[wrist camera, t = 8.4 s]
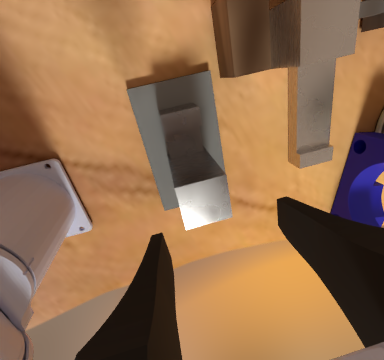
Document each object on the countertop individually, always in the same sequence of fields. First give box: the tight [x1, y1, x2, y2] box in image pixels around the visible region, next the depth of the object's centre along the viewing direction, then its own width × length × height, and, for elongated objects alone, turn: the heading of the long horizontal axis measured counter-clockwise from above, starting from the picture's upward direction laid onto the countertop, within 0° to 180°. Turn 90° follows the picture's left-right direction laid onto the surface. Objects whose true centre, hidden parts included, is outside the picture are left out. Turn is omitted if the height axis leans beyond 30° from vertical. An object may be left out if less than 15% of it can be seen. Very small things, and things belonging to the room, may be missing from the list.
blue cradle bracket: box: [330, 132, 384, 227], centre depth 24 cm, size 12×4×6 cm, turn 0°
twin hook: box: [269, 0, 361, 169], centre depth 18 cm, size 7×13×7 cm, turn 12°
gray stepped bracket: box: [158, 103, 232, 230], centre depth 17 cm, size 4×8×7 cm, turn 12°
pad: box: [127, 71, 225, 211], centre depth 21 cm, size 7×12×1 cm, turn 12°
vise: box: [211, 0, 384, 78], centre depth 17 cm, size 14×5×4 cm, turn 102°
